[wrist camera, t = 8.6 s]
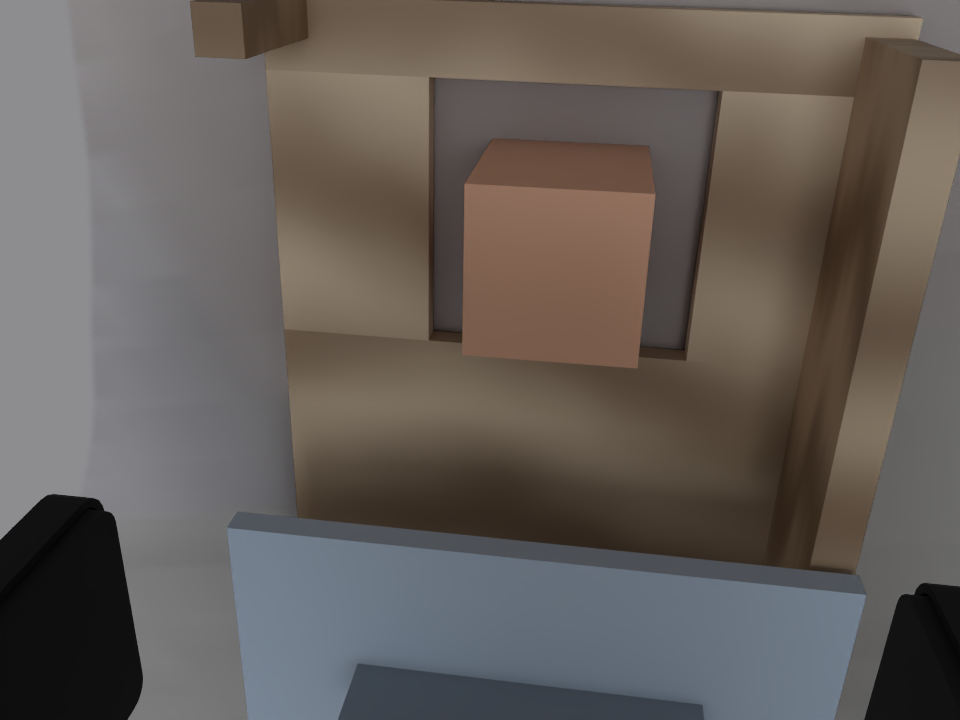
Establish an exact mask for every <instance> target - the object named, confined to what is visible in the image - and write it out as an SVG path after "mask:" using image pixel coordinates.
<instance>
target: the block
mask: <svg viewBox="0 0 960 720" xmlns="http://www.w3.org/2000/svg"><path fill="white" fill-rule="evenodd" d="M655 195H656V194H655V187H654V180H653V173H652V166H651V159H650V152H649V146H638V145H617V144H596V143H575V142H555V141H534V140H513V139H492V141H491V142H490V144H489V145H488V147H487V149H486V150H485V152H484V153H483V155H482V157H481V158H480V160H479V161H478V163H477V165H476V166H475V168H474V169H473V171H472V173H471V174H470V176H469V177H468V179H467V181H466V182H465V184H464V258H463V331H462V355H468V356H481V357H494V358H507V359H520V360H533V361H546V362H559V363H572V364H585V365H598V366H611V367H624V368H638V358H639V349H640V339H641V330H642V320H643V310H644V301H645V291H646V282H647V272H648V262H649V253H650V243H651V233H652V224H653V214H654V205H655Z"/></svg>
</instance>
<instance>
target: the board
mask: <svg viewBox="0 0 960 720" xmlns="http://www.w3.org/2000/svg"><path fill="white" fill-rule="evenodd" d="M190 8H191V18H192V28H193V37H194V47H195V57H211V58H233V59H247V58H250V57H253V56H256V55H259V54H262V53H265V65H266V79H267V93H268V107H269V121H270V135H271V149H272V163H273V177H274V191H275V205H276V219H277V233H278V247H279V261H280V275H281V290H282V304H283V318H284V332H285V346H286V360H287V374H288V388H289V402H290V416H291V430H292V444H293V458H294V472H295V486H296V500H297V514H298V518H304V519H314V520H324V521H333V522H343V523H353V524H363V525H372V526H382V527H392V528H402V529H411V530H421V531H431V532H440V533H450V534H460V535H470V536H479V537H489V538H499V539H509V540H518V541H528V542H538V543H548V544H557V545H567V546H577V547H587V548H596V549H606V550H616V551H626V552H635V553H645V554H655V555H665V556H674V557H684V558H694V559H704V560H713V561H723V562H733V563H742V564H752V565H762V566H772V567H781V568H791V569H801V570H811V571H820V572H830V573H840V574H850V575H855V572H856V568H857V564H858V560H859V556H860V552H861V548H862V544H863V540H864V536H865V532H866V528H867V524H868V520H869V516H870V512H871V508H872V504H873V500H874V496H875V492H876V488H877V484H878V480H879V476H880V472H881V468H882V464H883V460H884V456H885V452H886V448H887V444H888V440H889V436H890V432H891V428H892V424H893V420H894V416H895V412H896V408H897V404H898V400H899V396H900V392H901V388H902V384H903V380H904V376H905V372H906V368H907V364H908V360H909V356H910V352H911V348H912V344H913V340H914V336H915V332H916V328H917V324H918V320H919V316H920V312H921V308H922V304H923V300H924V296H925V292H926V288H927V284H928V280H929V275H930V271H931V267H932V263H933V259H934V255H935V251H936V247H937V243H938V239H939V235H940V231H941V227H942V223H943V219H944V215H945V211H946V207H947V203H948V199H949V195H950V191H951V187H952V183H953V179H954V175H955V171H956V167H957V163H958V159H959V155H960V54H957V53H954V52H951V51H948V50H945V49H942V48H939V47H936V46H934V45H931V44H928V43H925V42H922V41H919V36H920V31H921V27H922V22H923V18H920V17H916V16H905V15H877V14H850V13H823V12H795V11H768V10H741V9H714V8H686V7H659V6H632V5H604V4H577V3H550V2H523V1H495V0H195V1H190ZM434 78H454V79H476V80H497V81H519V82H540V83H562V84H583V85H605V86H626V87H648V88H669V89H691V90H712V91H719V96H718V103H717V111H716V119H715V126H714V134H713V141H712V149H711V156H710V164H709V171H708V179H707V186H706V194H705V201H704V209H703V216H702V224H701V231H700V239H699V246H698V254H697V261H696V269H695V276H694V284H693V291H692V299H691V306H690V314H689V321H688V329H687V336H686V344H685V350H675V349H662V348H649V347H640V349H639V358H638V368H624V367H611V366H598V365H585V364H572V363H559V362H546V361H533V360H520V359H507V358H494V357H481V356H468V355H462V333H457V332H444V331H433V237H434Z"/></svg>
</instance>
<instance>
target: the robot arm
mask: <svg viewBox="0 0 960 720" xmlns="http://www.w3.org/2000/svg"><path fill="white" fill-rule="evenodd" d="M142 683H143V674H142V668H141V662H140V656H139V651H138V645H137V639H136V634H135V628H134V622H133V616H132V611H131V605H130V599H129V594H128V588H127V582H126V577H125V571H124V565H123V560H122V554H121V548H120V543H119V537H118V531H117V526H116V521H115V518H114V516H113V515H112V513H110V512H107V511H104V508H103V505H102V504H101V503H100V501H99V500H97V499H94V498H86V497H76V496H66V495H57V494H52V495H47V496H46V497H44V498H43V499H42V500H40V501H39V502H38V503H37V504H36V505H35V506H34V507H33V508H32V509H31V510H30V511H29V512H28V513H27V514H26V515H25V516H24V517H23V518H22V519H21V520H20V521H19V522H18V523H17V524H16V525H15V526H14V527H13V528H12V529H11V530H10V531H9V532H8V533H7V534H6V535H5V536H4V537H3V538H2V539H1V540H0V720H127V719H128V718H129V716H130V715H131V713H132V711H133V710H134V708H135V706H136V704H137V702H138V700H139V697H140V694H141V690H142ZM865 720H960V587H959V586H949V585H939V584H929V583H923V584H920V585H919V587H918V588H917V589H916V591H915V594H914V595H909V594H904V595H902V596H901V597H900V598H899V600H898V603H897V605H896V609H895V613H894V616H893V620H892V623H891V627H890V630H889V634H888V638H887V641H886V645H885V648H884V652H883V655H882V659H881V663H880V666H879V670H878V673H877V677H876V680H875V684H874V688H873V691H872V695H871V698H870V702H869V705H868V709H867V713H866V716H865Z"/></svg>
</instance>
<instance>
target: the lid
mask: <svg viewBox="0 0 960 720" xmlns="http://www.w3.org/2000/svg"><path fill="white" fill-rule="evenodd" d="M227 534H228V543H229V552H230V561H231V569H232V578H233V587H234V596H235V605H236V614H237V623H238V632H239V641H240V650H241V659H242V668H243V677H244V686H245V695H246V704H247V713H248V720H834V719H835V715H836V711H837V707H838V703H839V700H840V696H841V692H842V688H843V684H844V680H845V676H846V673H847V669H848V665H849V661H850V657H851V653H852V649H853V645H854V642H855V638H856V634H857V630H858V626H859V622H860V618H861V615H862V611H863V607H864V603H865V599H866V592H865V590H864V587H863V584H862V582H861V579H860V576H859V575H850V574H840V573H830V572H820V571H811V570H801V569H791V568H781V567H772V566H762V565H752V564H742V563H733V562H723V561H713V560H704V559H694V558H684V557H674V556H665V555H655V554H645V553H635V552H626V551H616V550H606V549H596V548H587V547H577V546H567V545H557V544H548V543H538V542H528V541H518V540H509V539H499V538H489V537H479V536H470V535H460V534H450V533H440V532H431V531H421V530H411V529H402V528H392V527H382V526H372V525H363V524H353V523H343V522H333V521H324V520H314V519H304V518H294V517H285V516H275V515H265V514H255V513H246V512H237V513H236V515H235V516H234V518H233V519H232V521H231V522H230V524H229V525H228V527H227Z"/></svg>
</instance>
